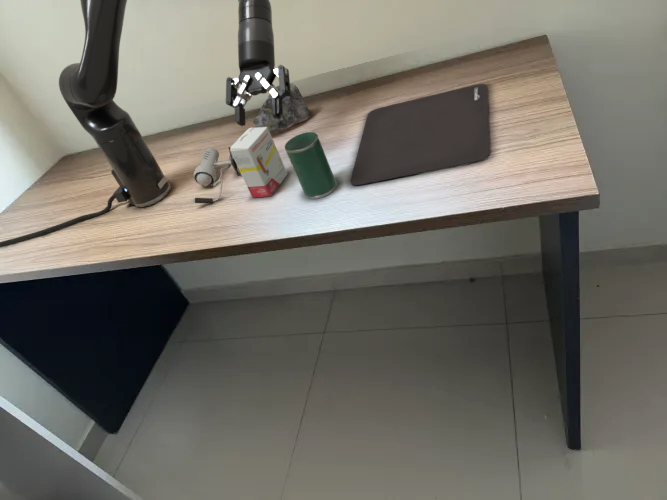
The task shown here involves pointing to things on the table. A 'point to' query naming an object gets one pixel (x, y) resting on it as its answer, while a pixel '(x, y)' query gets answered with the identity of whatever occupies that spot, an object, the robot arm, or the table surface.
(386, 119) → the mouse pad
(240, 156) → the ink box
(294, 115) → the mineral rock
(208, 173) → the clip-on lamp
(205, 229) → the table surface
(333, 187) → the tin can
